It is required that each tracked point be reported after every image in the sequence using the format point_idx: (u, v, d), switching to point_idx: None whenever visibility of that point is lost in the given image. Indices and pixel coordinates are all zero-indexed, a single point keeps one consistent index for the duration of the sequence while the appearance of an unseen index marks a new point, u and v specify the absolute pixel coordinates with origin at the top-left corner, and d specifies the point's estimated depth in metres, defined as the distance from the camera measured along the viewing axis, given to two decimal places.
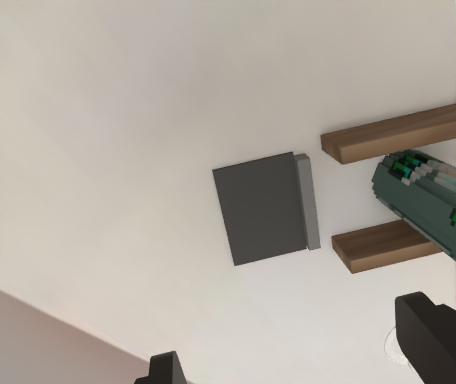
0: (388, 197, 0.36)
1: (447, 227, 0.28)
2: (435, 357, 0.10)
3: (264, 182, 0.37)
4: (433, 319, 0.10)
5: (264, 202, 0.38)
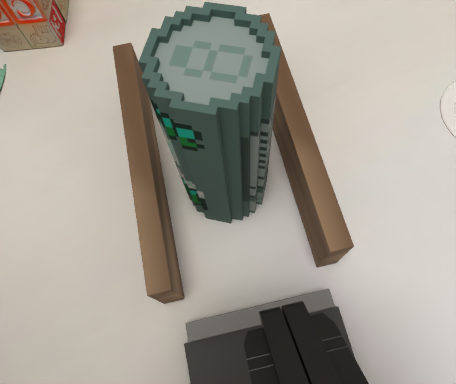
0: (237, 206, 0.27)
1: (210, 150, 0.19)
2: None
3: None
4: (301, 328, 0.11)
5: None
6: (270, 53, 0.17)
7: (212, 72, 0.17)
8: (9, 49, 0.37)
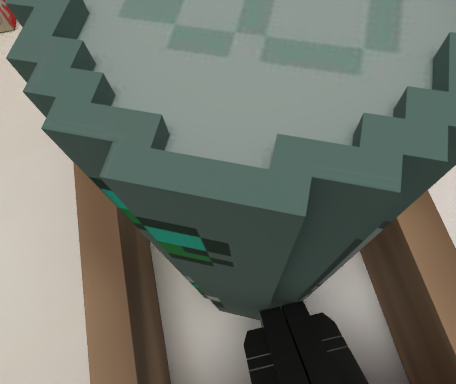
0: None
1: (249, 271, 0.07)
2: None
3: None
4: (301, 328, 0.11)
5: None
6: None
7: (269, 38, 0.05)
8: None
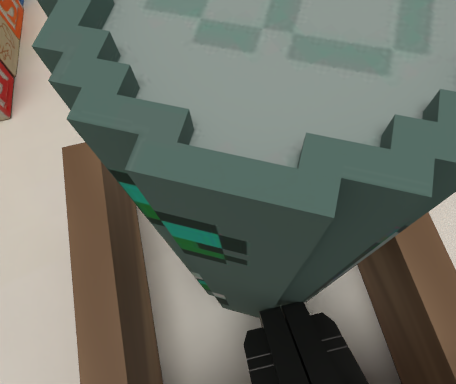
0: None
1: (263, 270, 0.07)
2: None
3: None
4: (301, 328, 0.11)
5: None
6: None
7: (297, 36, 0.05)
8: None
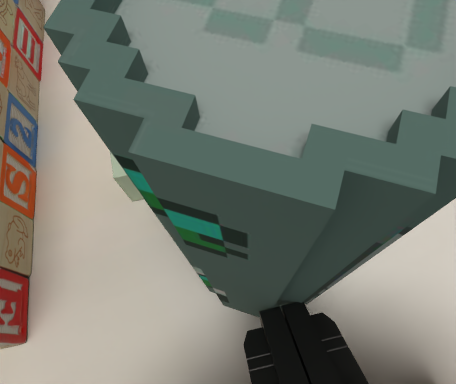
0: None
1: (263, 265, 0.07)
2: None
3: None
4: (302, 328, 0.11)
5: None
6: None
7: (307, 29, 0.05)
8: None
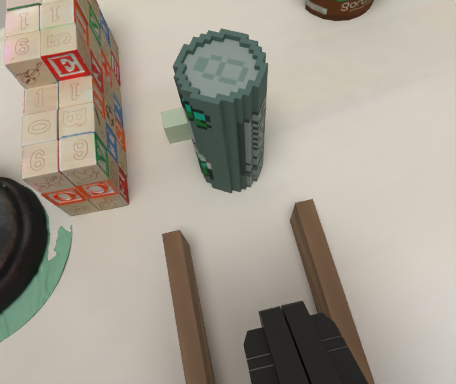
0: (236, 178, 0.35)
1: (215, 130, 0.27)
2: None
3: None
4: (301, 328, 0.11)
5: None
6: (259, 67, 0.25)
7: (220, 77, 0.25)
8: (76, 214, 0.38)
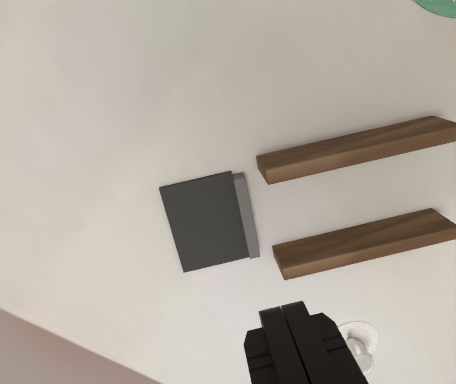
0: None
1: None
2: None
3: (206, 198, 0.42)
4: (301, 328, 0.11)
5: (207, 215, 0.42)
6: None
7: None
8: None
